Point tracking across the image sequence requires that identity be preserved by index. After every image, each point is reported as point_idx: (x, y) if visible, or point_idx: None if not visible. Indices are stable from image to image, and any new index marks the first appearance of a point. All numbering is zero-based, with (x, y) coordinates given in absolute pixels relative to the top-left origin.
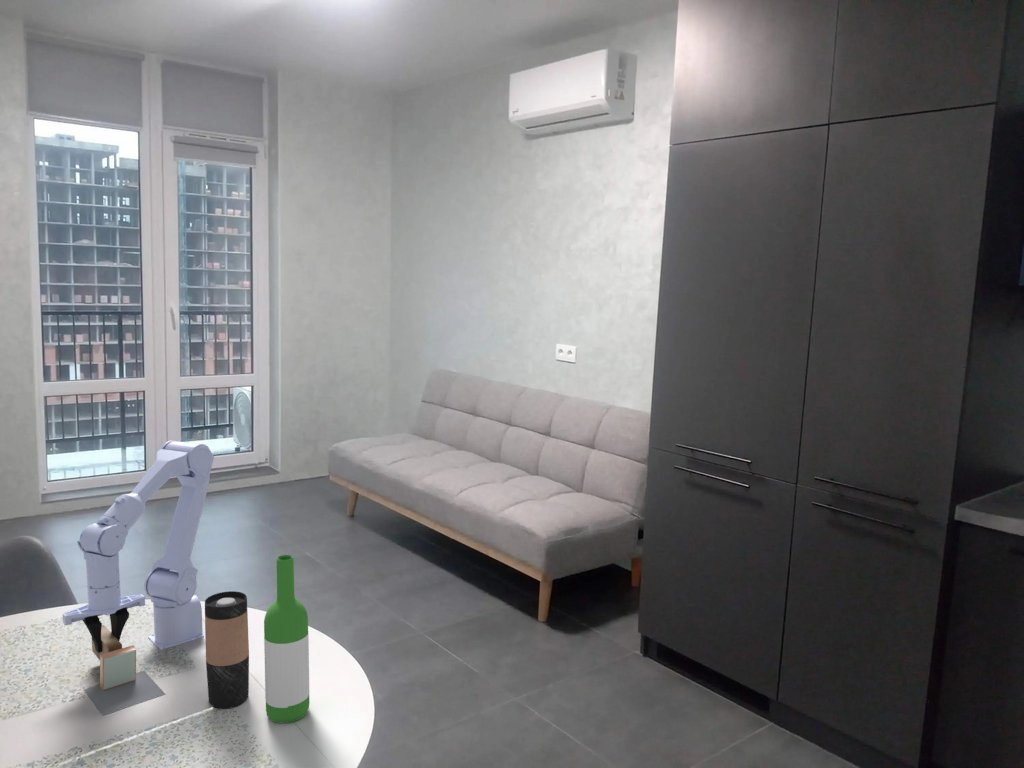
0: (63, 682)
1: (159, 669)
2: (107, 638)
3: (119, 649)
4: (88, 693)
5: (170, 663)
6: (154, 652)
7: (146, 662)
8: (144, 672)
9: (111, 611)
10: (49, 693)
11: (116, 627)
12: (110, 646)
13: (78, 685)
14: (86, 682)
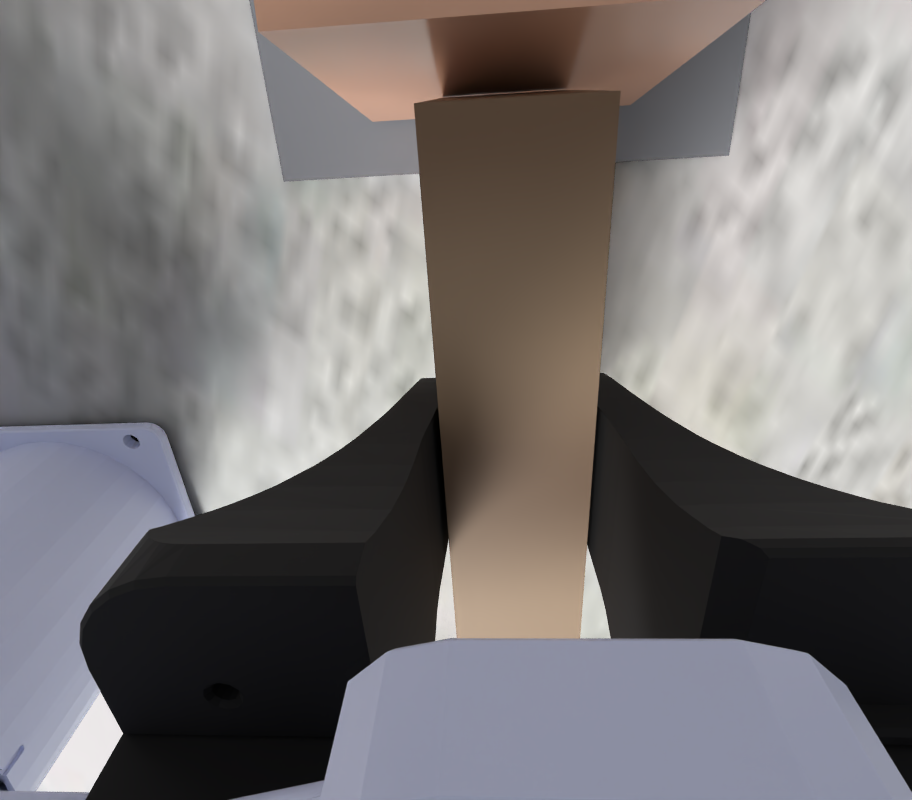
0: (757, 383)
1: (181, 158)
2: (525, 435)
3: (474, 5)
4: (733, 54)
5: (102, 206)
6: (201, 430)
7: (259, 329)
8: (285, 148)
9: (586, 769)
10: (891, 288)
11: (406, 475)
12: (576, 141)
13: (708, 282)
14: (653, 292)
